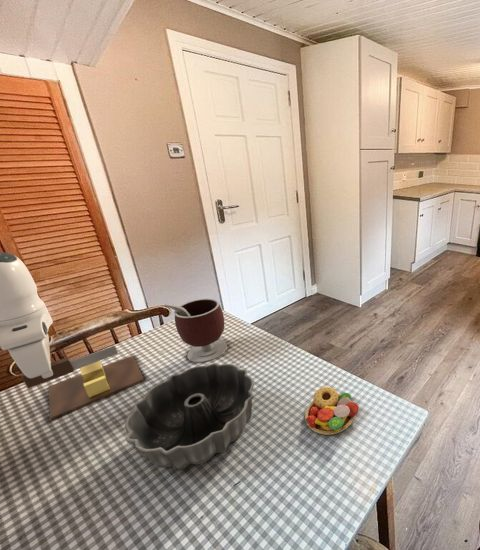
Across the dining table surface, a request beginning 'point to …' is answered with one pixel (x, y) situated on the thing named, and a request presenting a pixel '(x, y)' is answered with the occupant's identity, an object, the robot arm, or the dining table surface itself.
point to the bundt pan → (191, 415)
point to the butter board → (78, 393)
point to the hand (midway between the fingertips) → (48, 372)
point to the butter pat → (96, 386)
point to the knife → (70, 366)
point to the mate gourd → (201, 328)
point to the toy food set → (330, 411)
